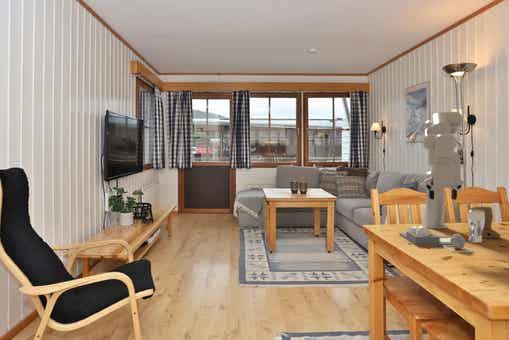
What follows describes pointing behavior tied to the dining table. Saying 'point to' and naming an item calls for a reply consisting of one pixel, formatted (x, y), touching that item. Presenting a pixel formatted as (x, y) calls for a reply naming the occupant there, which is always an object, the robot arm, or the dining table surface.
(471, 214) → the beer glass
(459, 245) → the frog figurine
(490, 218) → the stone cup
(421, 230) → the dome button
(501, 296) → the dining table surface
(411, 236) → the game board
